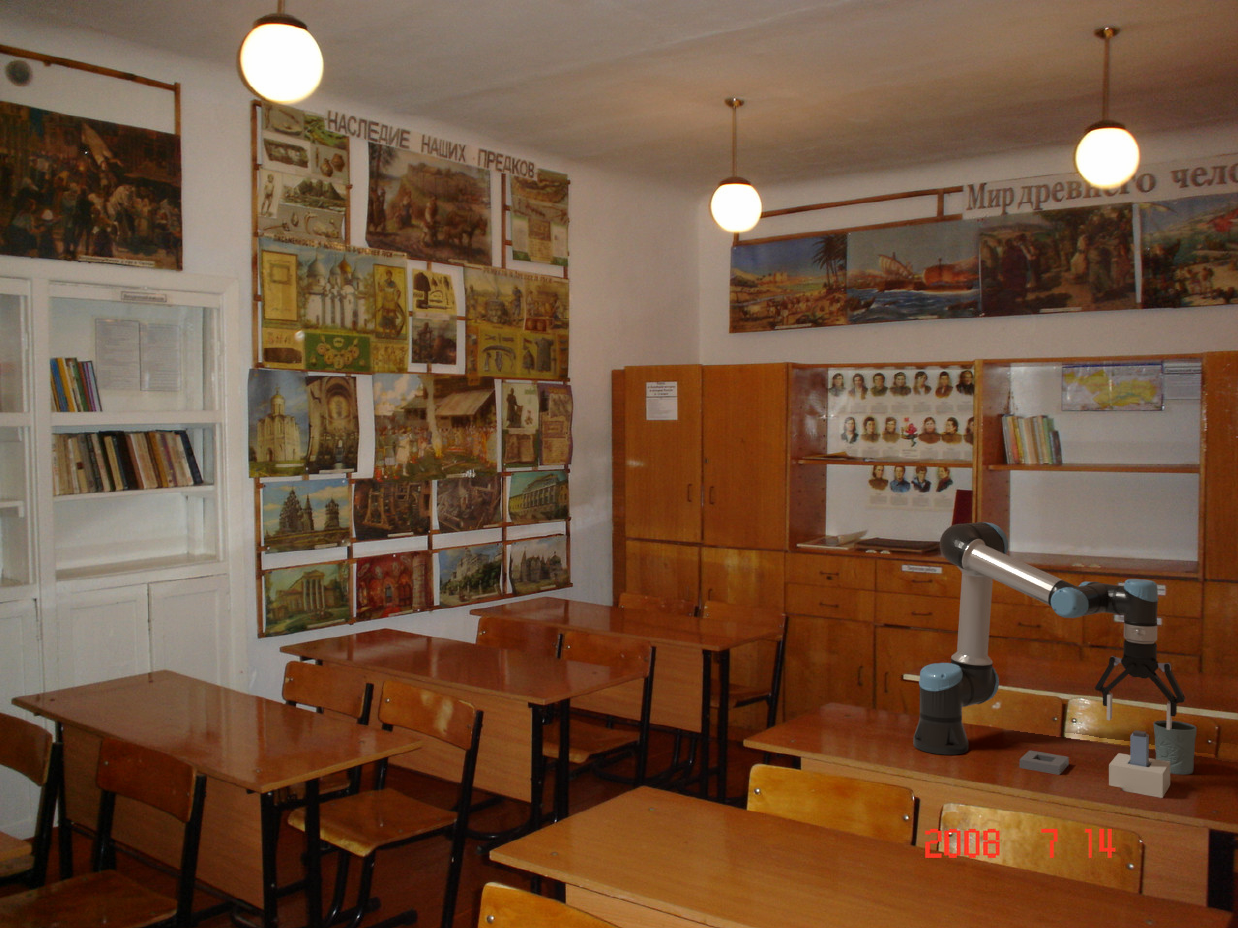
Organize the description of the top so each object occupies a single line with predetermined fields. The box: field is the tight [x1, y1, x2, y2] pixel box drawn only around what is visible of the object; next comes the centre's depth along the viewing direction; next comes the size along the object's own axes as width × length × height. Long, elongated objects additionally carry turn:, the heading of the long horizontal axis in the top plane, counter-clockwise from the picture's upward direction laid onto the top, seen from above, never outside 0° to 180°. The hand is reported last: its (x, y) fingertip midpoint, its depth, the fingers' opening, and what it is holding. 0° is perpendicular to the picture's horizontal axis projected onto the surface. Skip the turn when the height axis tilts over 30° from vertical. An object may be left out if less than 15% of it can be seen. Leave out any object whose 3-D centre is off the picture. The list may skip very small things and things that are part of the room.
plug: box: [1129, 729, 1150, 767], centre depth 250 cm, size 4×4×13 cm
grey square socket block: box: [1019, 750, 1070, 775], centre depth 264 cm, size 10×10×3 cm
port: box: [1108, 752, 1171, 799], centre depth 250 cm, size 12×12×6 cm
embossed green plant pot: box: [1153, 719, 1198, 776], centre depth 264 cm, size 10×10×12 cm
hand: (1138, 723), depth 250 cm, fingers open, 13 cm apart
